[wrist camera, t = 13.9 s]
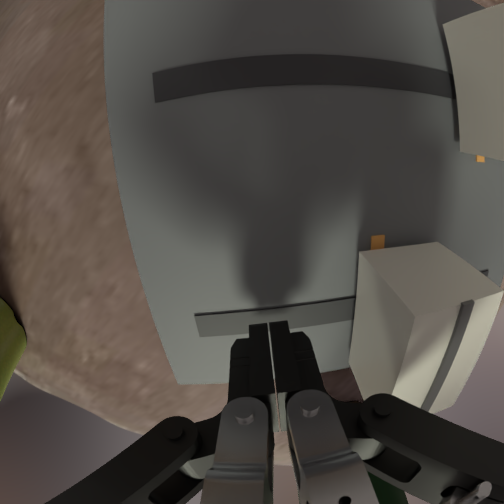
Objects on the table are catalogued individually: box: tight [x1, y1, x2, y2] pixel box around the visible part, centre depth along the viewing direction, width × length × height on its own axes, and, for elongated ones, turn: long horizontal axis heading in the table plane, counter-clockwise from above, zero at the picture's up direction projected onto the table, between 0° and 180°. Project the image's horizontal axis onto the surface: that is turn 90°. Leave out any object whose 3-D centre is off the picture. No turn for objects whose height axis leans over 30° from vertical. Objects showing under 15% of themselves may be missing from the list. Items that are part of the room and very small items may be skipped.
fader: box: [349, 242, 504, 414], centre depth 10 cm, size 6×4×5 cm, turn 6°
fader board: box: [104, 0, 504, 384], centre depth 11 cm, size 20×20×3 cm
